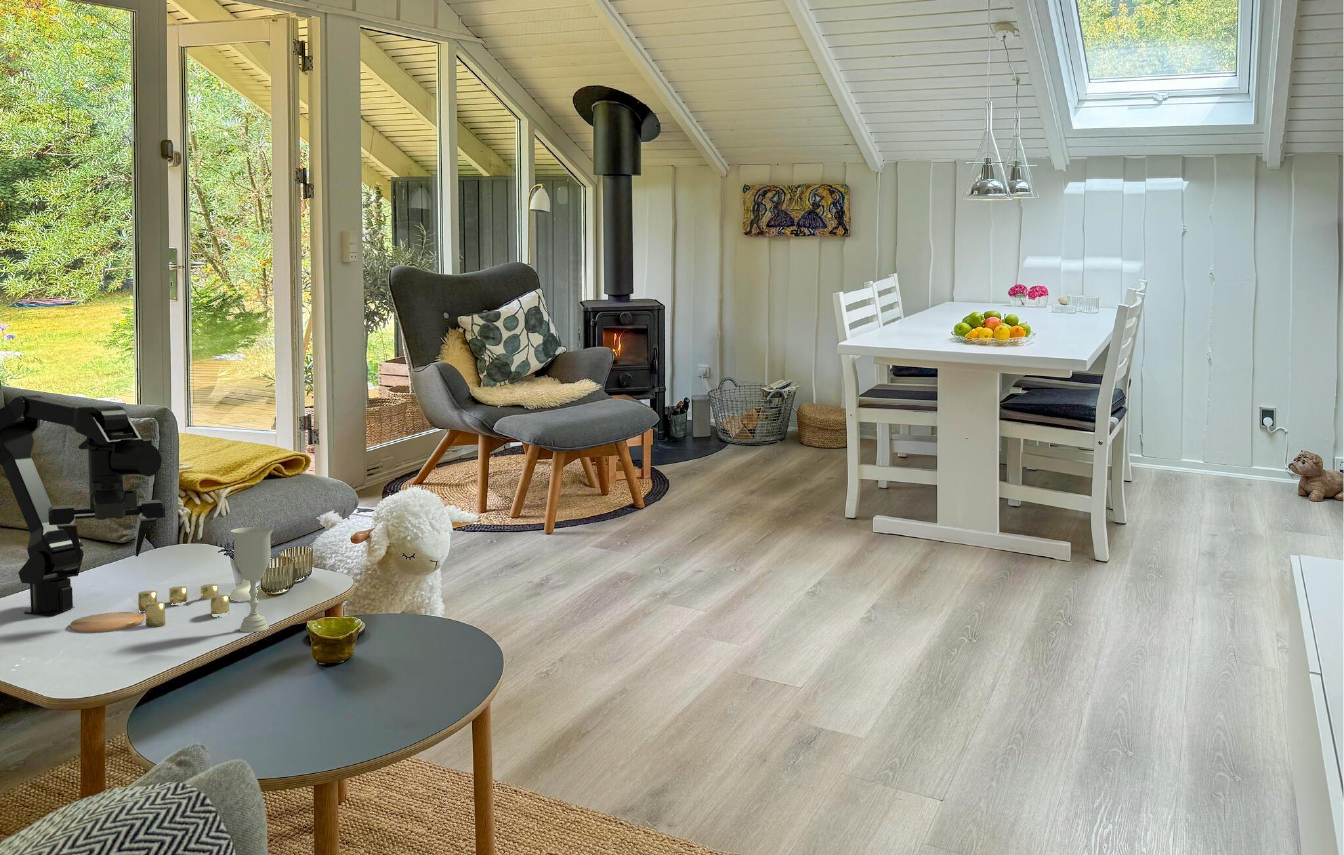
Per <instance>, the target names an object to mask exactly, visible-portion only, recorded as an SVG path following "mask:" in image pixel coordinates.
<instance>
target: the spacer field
mask: <svg viewBox="0 0 1344 855" xmlns="http://www.w3.org/2000/svg"><path fill="white" fill-rule="evenodd" d="M168 593H169V594H168V596H169V598H168V600H169V604H170V603H171V604H172V603H173V604H176V603H182V602H186V601H187V600H188V587H187V586H183V585H182V586H180V585H179V586H173V587H169V589H168ZM137 594H138V595H137V597H138V599H137V601H138V611H139V610H140V611H145V613H144V614H145V627H146V628H158V627H159V628H160V627H163V625H164V626H165V625H166V607H165V605H166V603H165V602H164V601H158V592H157V591H156V590H144V591H139V592H137ZM229 597H230V594H219V584H215V583H211V584H208V583H207V584H203V585H200V599H202V600H210V614H211V613H212V614H222V613H227V612H228V611H229V612H230V599H229ZM203 598H204V599H203ZM208 598H210V599H208Z"/></svg>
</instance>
